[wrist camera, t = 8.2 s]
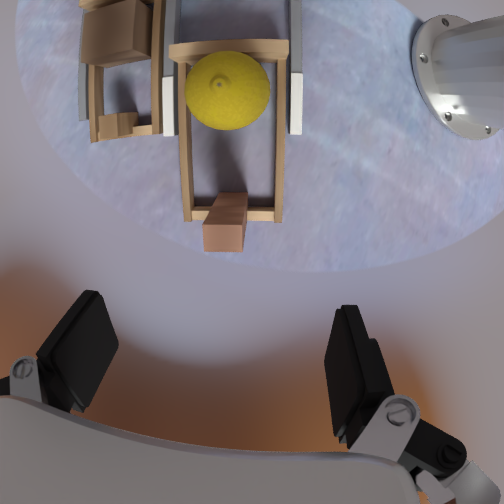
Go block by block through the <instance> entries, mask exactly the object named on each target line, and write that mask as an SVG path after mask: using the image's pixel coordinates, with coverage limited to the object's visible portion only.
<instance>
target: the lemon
mask: <svg viewBox="0 0 504 504" xmlns="http://www.w3.org/2000/svg"><path fill="white" fill-rule="evenodd" d="M184 95H185V100H186V104H187V106H188V108H189V110H190V112H191V113H192V114H193V115H194V116H195V117H196V119H197V120H199V121H200V122H202V123H203V124H205V125H206V126H209V127H212V128H215V129H219V130H234V129H239V128H242V127H244V126H247V125H249V124H250V123H252V122H253V121H255V120H256V119H257V118H258V117H259V116H260V115H261V114H262V113H263V112H264V110H265V108H266V106H267V104H268V101H269V97H270V82H269V79H268V76H267V74H266V72H265V70H264V69H263V68H262V66H261V65H260V64H259V63H258V62H257V61H256V60H254V59H253V58H252V57H250V56H248V55H246V54H243V53H241V52H235V51H219V52H215V53H212V54H209V55H207V56H206V57H204V58H202V59H200V60H199V61H198V62H197V63H196V64H195V65H194V66H193V67H192V69H191V70H190V72H189V73H188V75H187V78H186V81H185V87H184Z"/></svg>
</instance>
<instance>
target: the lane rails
mask: <svg viewBox="0 0 504 504" xmlns="http://www.w3.org/2000/svg"><path fill="white" fill-rule="evenodd" d="M180 11H181V0H166V14H165V32H164V72H163V78H162V97H163V134H164V137H166V136H175V135H179V120H178V63H177V62H175V61H173V60H172V59H170V58H169V45H173V44H179V33H180ZM289 44H290V69H289V134H295V135H302V96H303V74H302V10H301V0H289Z"/></svg>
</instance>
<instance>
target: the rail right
mask: <svg viewBox="0 0 504 504" xmlns="http://www.w3.org/2000/svg"><path fill="white" fill-rule="evenodd" d="M88 12H90V11H88V10H86V9H83V16H82V25H81V35H80V48H79V70H78V105H79V121H83V120H89V64H85V63H81V45H82V33H83V23H84V14H85V13H88Z"/></svg>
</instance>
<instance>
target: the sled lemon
mask: <svg viewBox="0 0 504 504" xmlns="http://www.w3.org/2000/svg"><path fill="white" fill-rule="evenodd" d="M219 51H235V52H241V53H243V54H246V55H248V56H250V57H252V58H253V59H254V60H256V61H257V62H258V63H277V95H276V155H275V193H274V207H248V192H219V194H218V196H217V198H216V200H215V201H214V203H213V205H212V206H195V203H194V186H193V166H192V139H191V112H190V110H189V108H188V106H187V104H186V100H185V95H184V87H185V81H186V78H187V75H188V73H189V72H190V70H191V65H195V64H196V63H197V62H198V61H199V60H200V59H202V58H204V57H206V56H207V55H209V54H212V53H215V52H219ZM288 54H289V40H281V39H227V40H211V41H199V42H189V43H181V44H173V45H169V58H170V59H172V60H173V61H175V62H177V63H178V120H179V149H180V169H181V186H182V200H183V213H184V222H191V221H192V220H205V221H204V222H203V224H202V226H203V241H204V251H206V252H243V245H244V238H245V230H246V223H247V220H256V221H274V223H282V210H283V185H284V155H285V112H286V58H287V56H288Z"/></svg>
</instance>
